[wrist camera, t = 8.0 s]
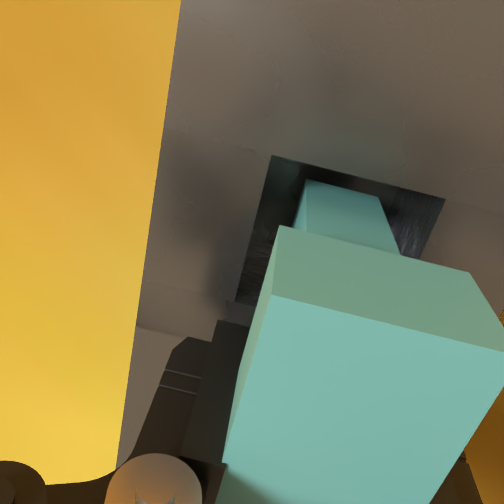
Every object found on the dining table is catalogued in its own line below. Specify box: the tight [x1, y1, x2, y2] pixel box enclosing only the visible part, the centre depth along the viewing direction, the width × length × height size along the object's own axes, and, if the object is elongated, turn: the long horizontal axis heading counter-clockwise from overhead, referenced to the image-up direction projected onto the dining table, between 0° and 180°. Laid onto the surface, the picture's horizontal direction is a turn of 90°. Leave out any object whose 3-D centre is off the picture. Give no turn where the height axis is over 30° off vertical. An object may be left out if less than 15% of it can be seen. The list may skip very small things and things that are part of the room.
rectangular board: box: [116, 0, 504, 469], centre depth 13 cm, size 20×8×4 cm, turn 167°
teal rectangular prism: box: [215, 179, 504, 504], centre depth 10 cm, size 8×3×6 cm, turn 167°
